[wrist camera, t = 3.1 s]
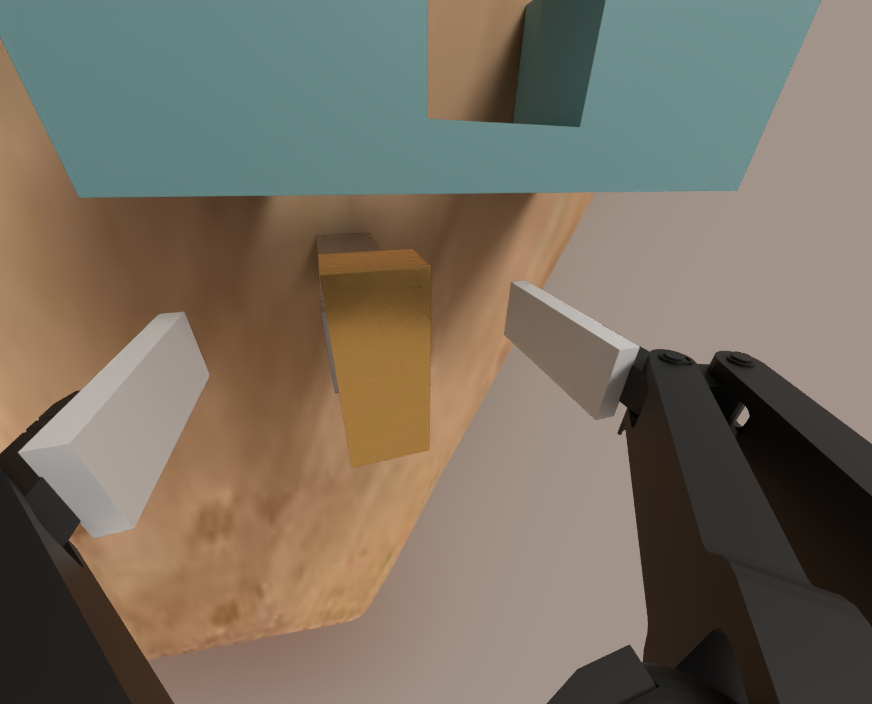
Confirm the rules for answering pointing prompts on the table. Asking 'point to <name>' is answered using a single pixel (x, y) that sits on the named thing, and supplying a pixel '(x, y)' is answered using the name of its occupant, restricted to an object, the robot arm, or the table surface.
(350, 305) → the golden orange block
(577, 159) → the teal slotted arch
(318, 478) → the table surface
